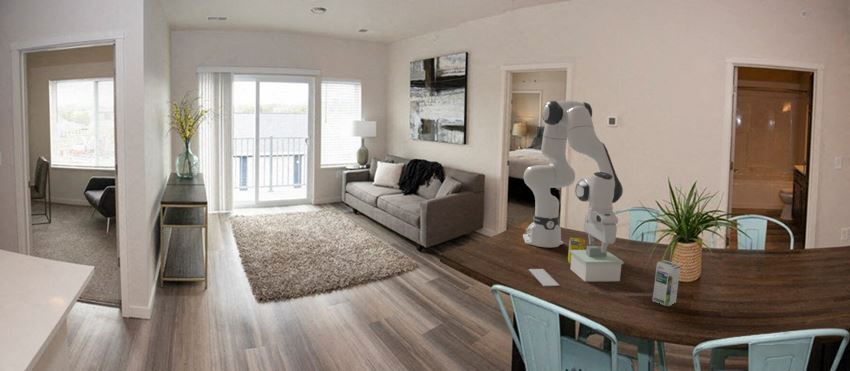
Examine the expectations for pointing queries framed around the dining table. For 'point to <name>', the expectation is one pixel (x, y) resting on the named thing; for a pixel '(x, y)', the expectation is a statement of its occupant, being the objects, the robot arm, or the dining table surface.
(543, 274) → the rubber mat
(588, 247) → the lid
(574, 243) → the supplement box
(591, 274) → the storage box
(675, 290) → the syrup box
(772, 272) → the dining table surface
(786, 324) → the dining table surface
